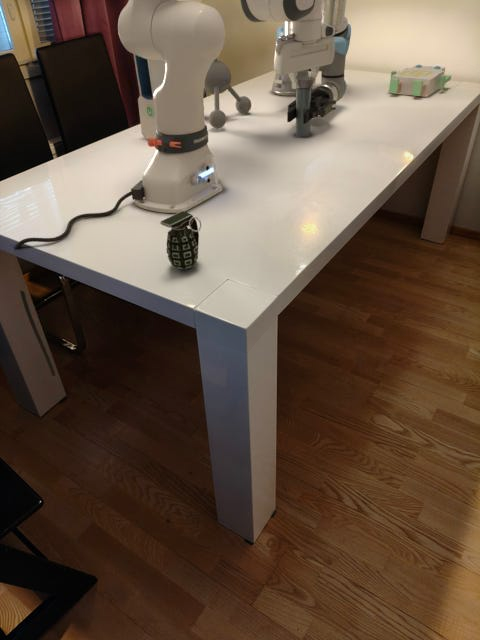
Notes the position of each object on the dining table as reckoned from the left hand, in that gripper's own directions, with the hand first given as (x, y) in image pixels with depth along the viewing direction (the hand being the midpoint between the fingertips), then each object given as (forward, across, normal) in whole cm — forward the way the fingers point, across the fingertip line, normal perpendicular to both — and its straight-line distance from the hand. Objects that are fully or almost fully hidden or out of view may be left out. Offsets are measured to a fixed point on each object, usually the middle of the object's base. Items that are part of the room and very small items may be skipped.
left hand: (303, 86), depth 141 cm
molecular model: (+14, -6, +32) cm, 35 cm away
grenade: (+14, -68, -41) cm, 81 cm away
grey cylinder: (+14, 0, 0) cm, 14 cm away
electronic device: (+14, -33, +29) cm, 46 cm away
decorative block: (+14, +66, +8) cm, 68 cm away
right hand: (+7, -5, -2) cm, 9 cm away
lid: (-2, 0, 0) cm, 2 cm away
